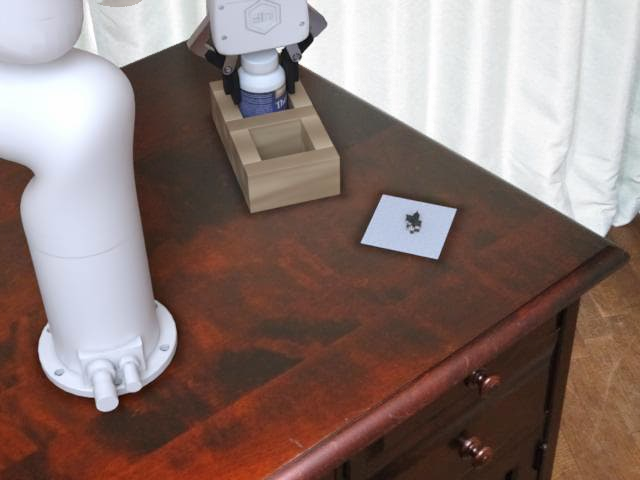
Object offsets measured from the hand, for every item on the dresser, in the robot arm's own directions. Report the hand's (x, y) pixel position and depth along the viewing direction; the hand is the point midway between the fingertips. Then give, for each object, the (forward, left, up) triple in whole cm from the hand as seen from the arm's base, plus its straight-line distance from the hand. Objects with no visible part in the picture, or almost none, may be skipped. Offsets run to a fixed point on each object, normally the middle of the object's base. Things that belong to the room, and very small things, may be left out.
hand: (261, 91), depth 126 cm
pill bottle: (0, 0, -5) cm, 5 cm away
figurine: (-20, -10, -6) cm, 23 cm away
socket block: (-4, 0, -6) cm, 7 cm away
